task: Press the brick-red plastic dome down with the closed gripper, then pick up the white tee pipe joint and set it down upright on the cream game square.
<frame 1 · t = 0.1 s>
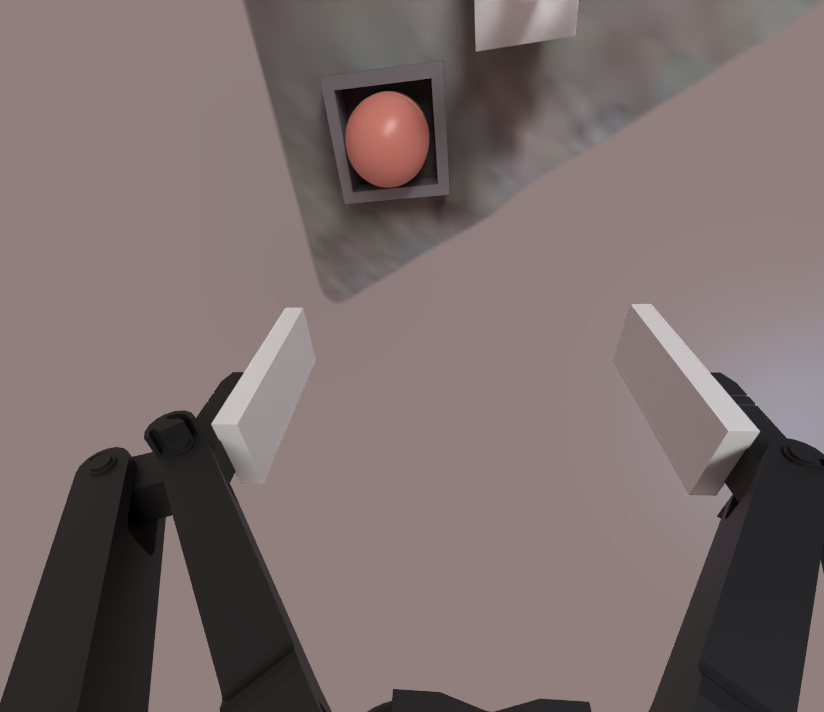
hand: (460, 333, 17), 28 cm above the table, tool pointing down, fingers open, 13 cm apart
dome: (387, 142, 33), point 4 cm above the table, slide at 0.0 cm
dome housing: (392, 134, 37), on the table
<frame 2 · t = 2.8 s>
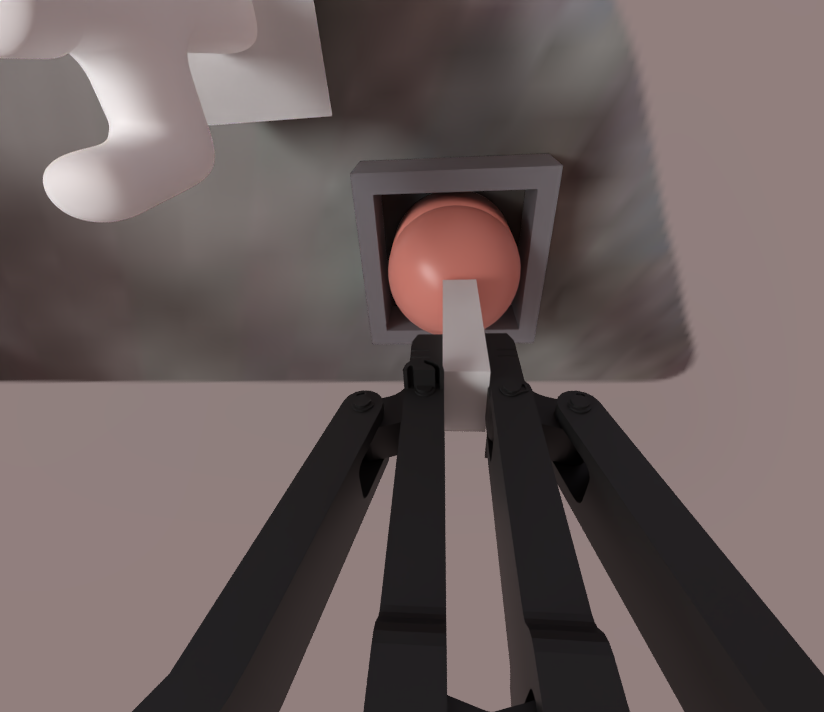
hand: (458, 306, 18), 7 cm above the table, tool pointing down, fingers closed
dome: (453, 272, 21), point 3 cm above the table, slide at 0.9 cm, touching gripper
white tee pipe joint: (259, 22, 18), on the table
dome housing: (451, 247, 24), on the table
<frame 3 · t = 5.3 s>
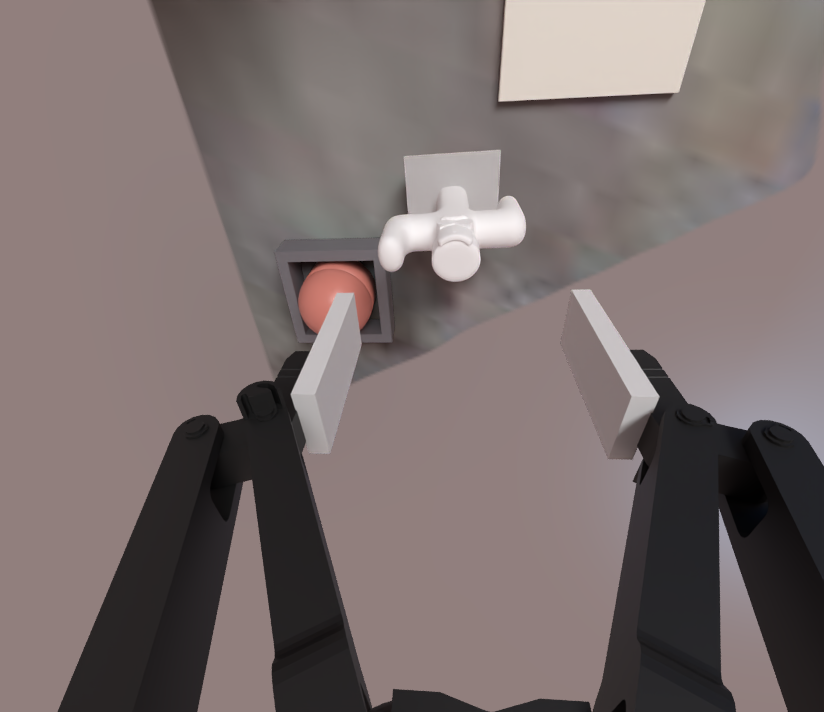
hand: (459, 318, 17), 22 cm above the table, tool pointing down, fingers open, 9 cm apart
dome: (336, 302, 38), point 3 cm above the table, slide at 0.8 cm
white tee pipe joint: (451, 190, 35), on the table
dome housing: (343, 286, 41), on the table
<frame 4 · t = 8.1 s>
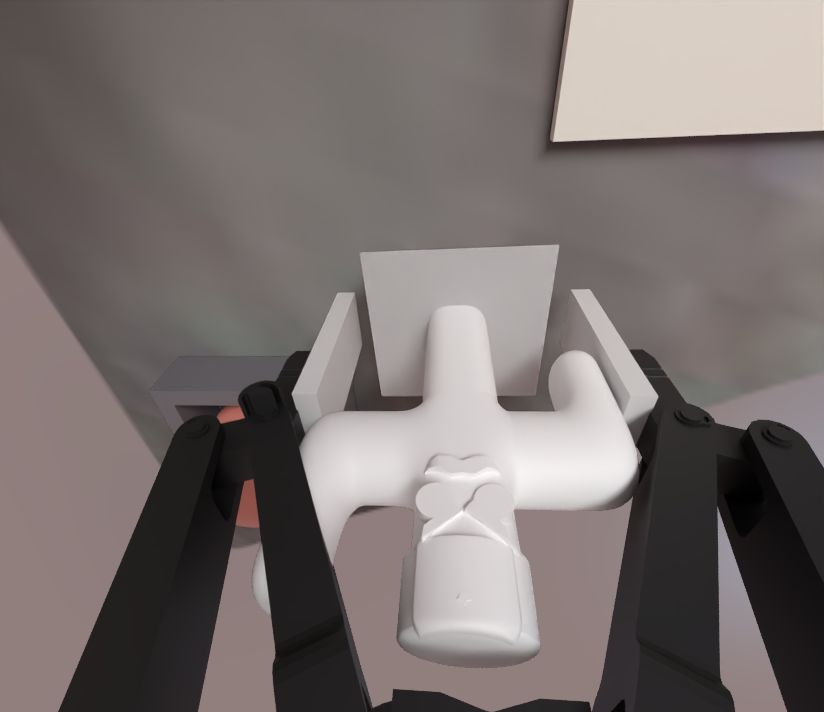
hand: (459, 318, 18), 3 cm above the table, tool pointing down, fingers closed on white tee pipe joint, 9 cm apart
dome: (263, 461, 23), point 3 cm above the table, slide at 0.8 cm
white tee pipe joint: (455, 289, 20), on the table, touching gripper
dome housing: (282, 418, 26), on the table
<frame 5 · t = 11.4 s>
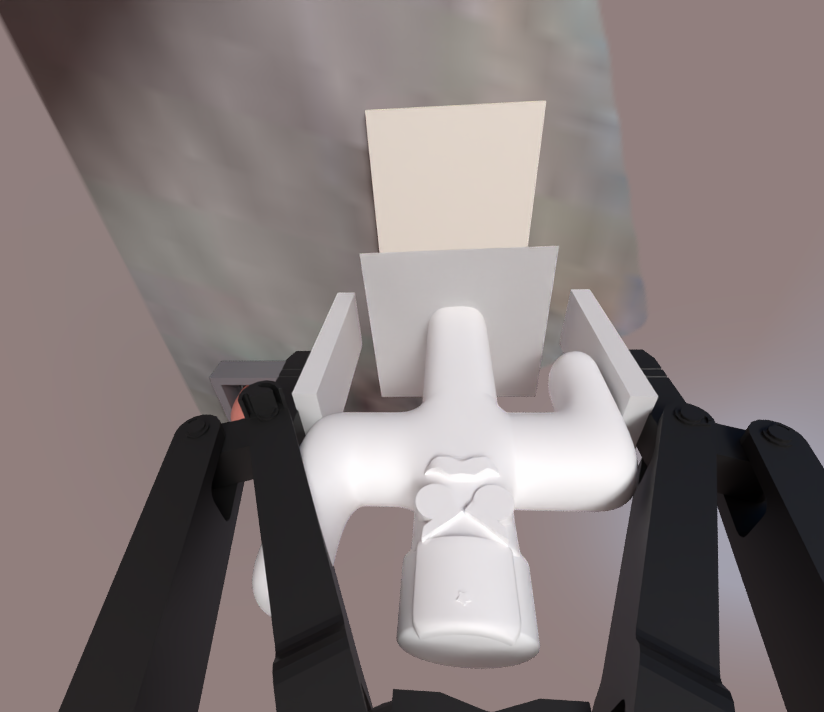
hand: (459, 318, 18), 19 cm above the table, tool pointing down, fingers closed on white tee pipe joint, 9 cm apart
dome: (264, 414, 45), point 3 cm above the table, slide at 0.8 cm
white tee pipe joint: (455, 290, 20), point 17 cm above the table, touching gripper
dome housing: (275, 394, 48), on the table
game square: (452, 197, 33), on the table
when the fingers open (4 cm above the table, at t = 14.7 s): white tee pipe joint moves 3 cm, resting on game square.
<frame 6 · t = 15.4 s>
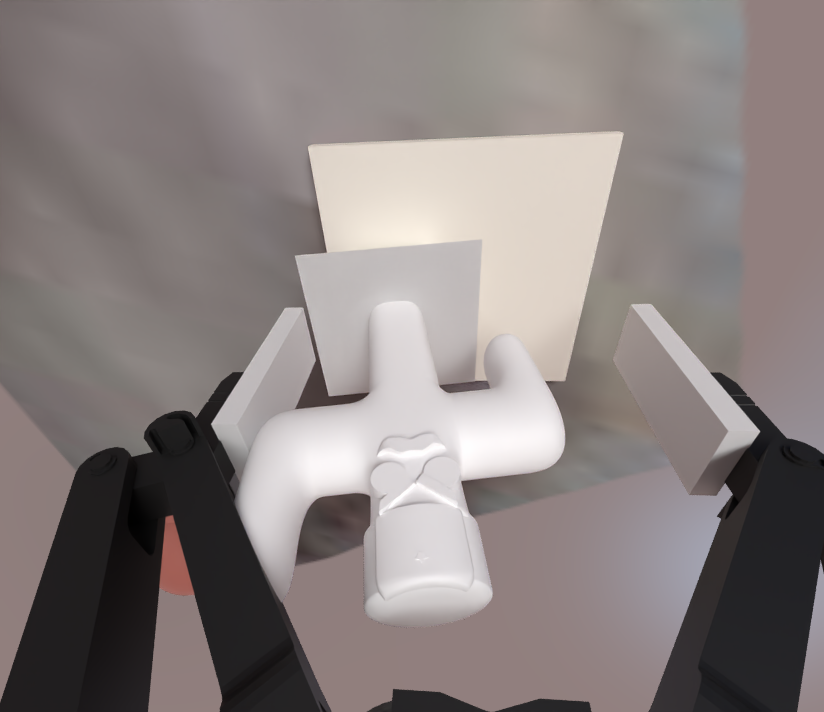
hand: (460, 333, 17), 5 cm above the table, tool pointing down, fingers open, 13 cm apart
dome: (196, 546, 33), point 3 cm above the table, slide at 0.8 cm
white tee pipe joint: (392, 287, 21), point 1 cm above the table, touching game square, gripper
game square: (457, 278, 21), on the table
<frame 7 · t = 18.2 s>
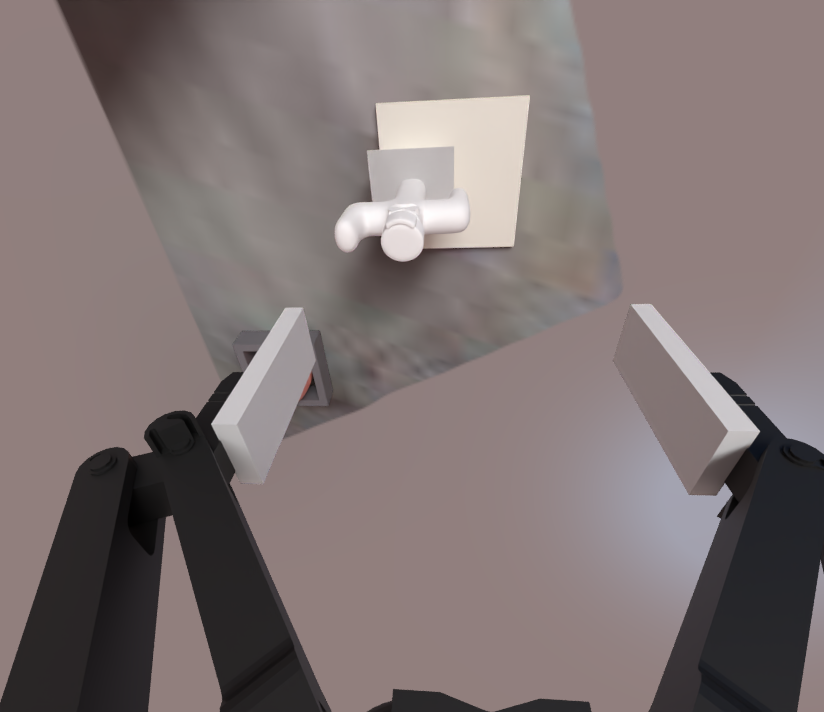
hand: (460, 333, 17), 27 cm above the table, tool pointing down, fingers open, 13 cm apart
dome: (281, 379, 50), point 3 cm above the table, slide at 0.8 cm
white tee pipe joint: (414, 183, 38), resting on game square
dome housing: (289, 362, 53), on the table
game square: (450, 180, 38), on the table
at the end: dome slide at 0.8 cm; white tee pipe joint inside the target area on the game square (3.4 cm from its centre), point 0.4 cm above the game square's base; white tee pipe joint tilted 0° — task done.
